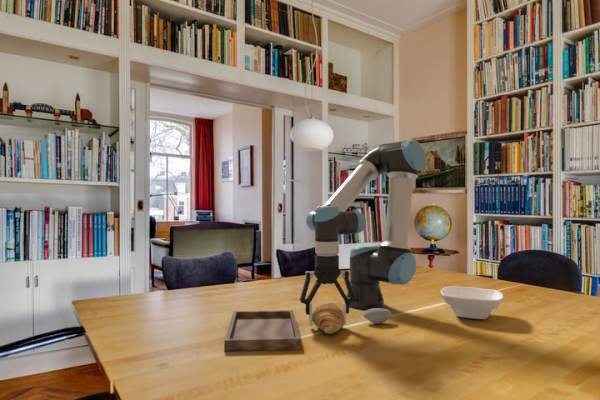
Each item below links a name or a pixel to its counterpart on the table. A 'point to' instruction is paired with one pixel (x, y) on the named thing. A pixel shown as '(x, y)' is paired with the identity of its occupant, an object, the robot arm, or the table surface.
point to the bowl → (471, 301)
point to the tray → (262, 331)
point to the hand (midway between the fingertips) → (327, 324)
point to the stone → (377, 315)
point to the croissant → (328, 318)
